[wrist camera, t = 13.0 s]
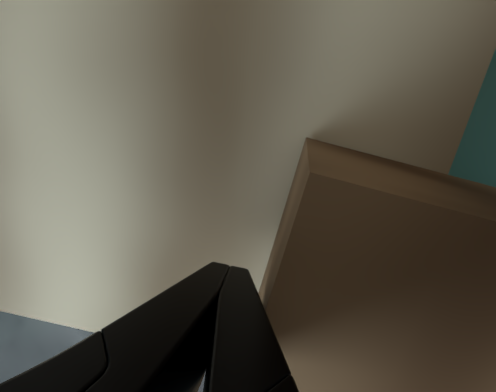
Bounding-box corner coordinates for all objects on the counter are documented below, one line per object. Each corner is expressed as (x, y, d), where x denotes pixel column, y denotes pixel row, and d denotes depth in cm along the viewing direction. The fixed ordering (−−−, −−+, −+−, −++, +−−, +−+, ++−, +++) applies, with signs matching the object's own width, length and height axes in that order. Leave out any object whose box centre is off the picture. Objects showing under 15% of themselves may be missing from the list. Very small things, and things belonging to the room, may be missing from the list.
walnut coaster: (240, 352, 11) (226, 432, 9) (305, 136, 9) (309, 172, 6) (460, 412, 11) (503, 508, 9) (590, 212, 9) (697, 274, 6)
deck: (39, 257, 15) (-22, 306, 12) (-3, -490, 8) (-166, -770, 5) (353, 325, 14) (365, 394, 11) (605, -441, 7) (791, -740, 4)
